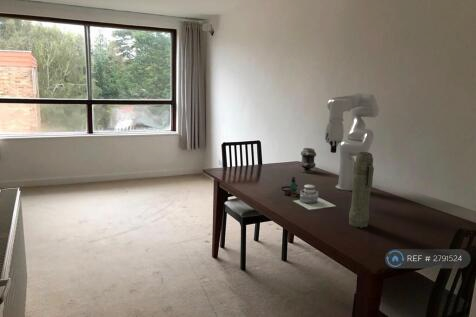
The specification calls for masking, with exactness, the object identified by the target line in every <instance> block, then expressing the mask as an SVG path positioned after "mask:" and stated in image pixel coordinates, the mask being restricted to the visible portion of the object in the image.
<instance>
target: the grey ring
mask: <svg viewBox="0 0 476 317" xmlns="http://www.w3.org/2000/svg"><path fill="white" fill-rule="evenodd" d="M318 198H319V191H318V190H315V194H306V193H304V189H301V190H299V200H300V202H302V203H305V204H316V203H317V202H318Z"/></svg>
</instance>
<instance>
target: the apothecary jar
mask: <svg viewBox="0 0 476 317" xmlns="http://www.w3.org/2000/svg"><path fill="white" fill-rule="evenodd" d="M300 156H301V161H300V162H299V165H300V167H301V168H302V169H301V170H300V172H301V173H304V174H305V173H307V174H312V173H314V170H312V169H314V168H315V167H316V163H315V158H316V157H317V153H316V152H315V148H311V147H304V148H303V150H302V151H301V152H300Z"/></svg>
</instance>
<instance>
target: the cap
mask: <svg viewBox="0 0 476 317" xmlns="http://www.w3.org/2000/svg"><path fill="white" fill-rule="evenodd" d="M303 190H304V193H306V194H315V191H316V186H315V185H313V184H304V186H303Z"/></svg>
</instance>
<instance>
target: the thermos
mask: <svg viewBox="0 0 476 317" xmlns="http://www.w3.org/2000/svg"><path fill="white" fill-rule="evenodd" d="M373 157H374V156H373V154H372V153H371V152H369V151H368V152H360V153H358V155H357V156H355V163H354V174H353V180H352V194H351V205H350V209H349V212H348V214H349V215H348V218H349V219H348V225H349V226H351V225H352V226H351V227H353V226H354V228H357V227H360V228H359V229H364V228H363V227H366V228H368V226H369V225H368V224H369V219H370V210H369V208H370V198H371V191H372V188H373V180H374V169H375V168H374V158H373Z"/></svg>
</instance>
